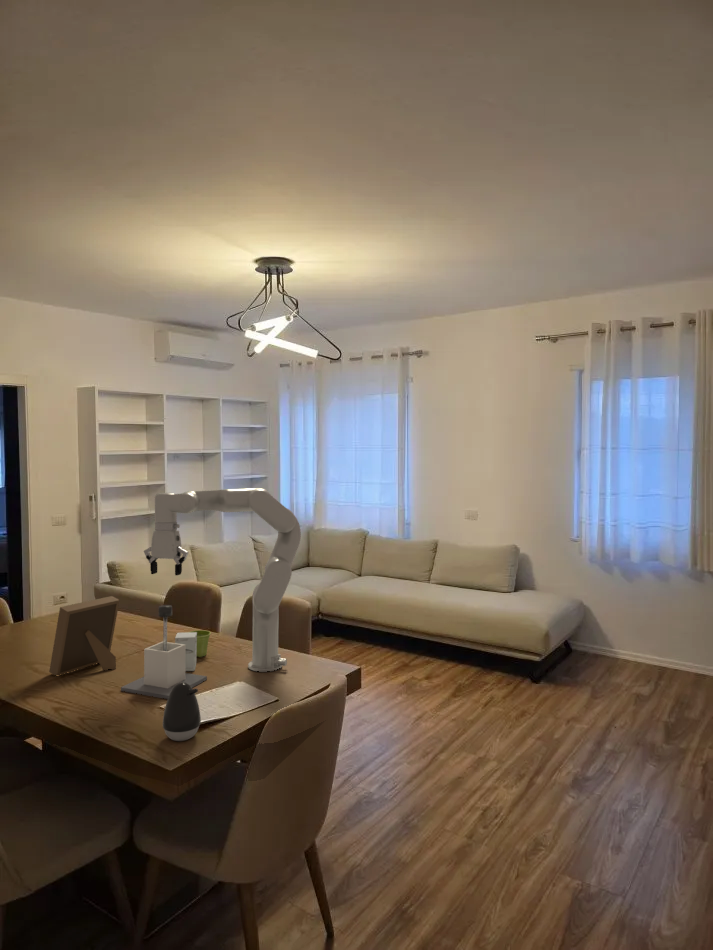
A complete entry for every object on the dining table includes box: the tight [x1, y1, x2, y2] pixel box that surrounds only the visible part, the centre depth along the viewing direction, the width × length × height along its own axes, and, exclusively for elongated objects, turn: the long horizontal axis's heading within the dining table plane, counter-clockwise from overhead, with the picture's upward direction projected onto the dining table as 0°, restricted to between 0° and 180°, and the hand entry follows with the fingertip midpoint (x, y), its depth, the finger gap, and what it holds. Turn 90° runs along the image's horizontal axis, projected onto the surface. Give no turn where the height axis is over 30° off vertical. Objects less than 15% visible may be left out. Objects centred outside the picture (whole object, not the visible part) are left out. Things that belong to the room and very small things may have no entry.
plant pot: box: [190, 629, 212, 658], centre depth 248 cm, size 9×9×9 cm
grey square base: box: [120, 641, 208, 700], centre depth 215 cm, size 20×20×13 cm
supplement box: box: [174, 631, 197, 672], centre depth 232 cm, size 7×7×13 cm
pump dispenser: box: [162, 682, 202, 742], centre depth 175 cm, size 10×10×15 cm
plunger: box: [158, 604, 173, 651], centre depth 214 cm, size 7×7×17 cm
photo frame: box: [49, 595, 120, 676], centre depth 229 cm, size 15×22×25 cm
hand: (166, 574), depth 228 cm, fingers open, 9 cm apart
